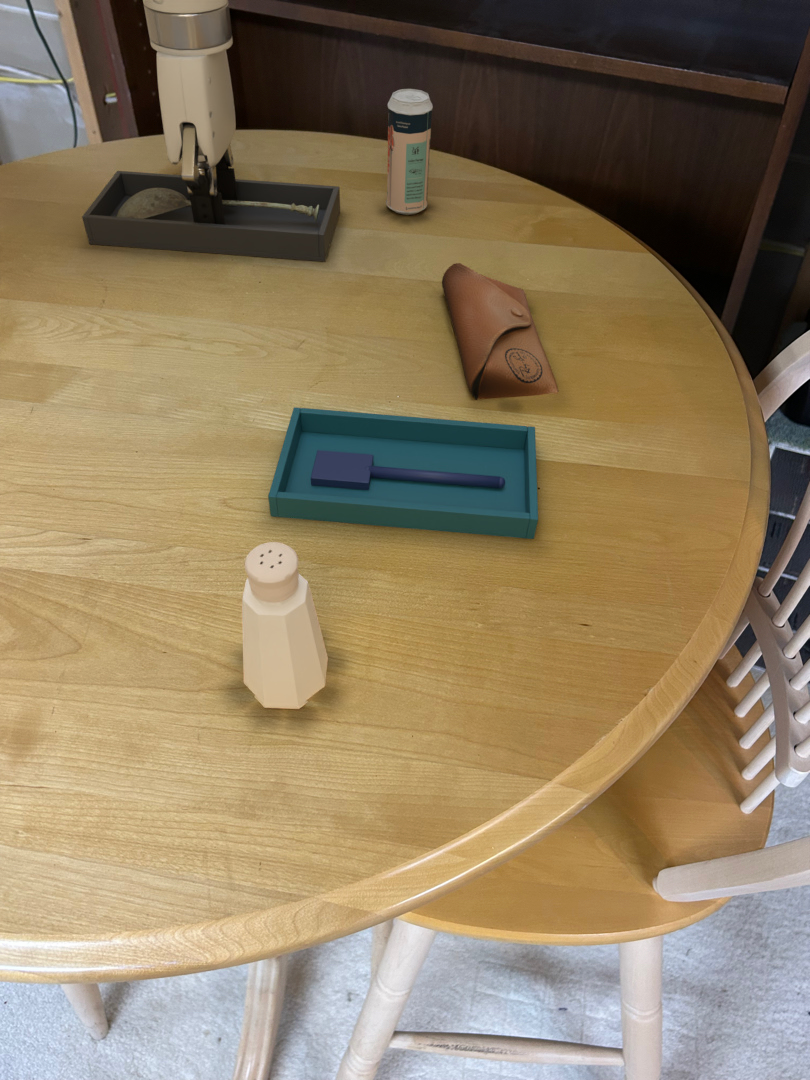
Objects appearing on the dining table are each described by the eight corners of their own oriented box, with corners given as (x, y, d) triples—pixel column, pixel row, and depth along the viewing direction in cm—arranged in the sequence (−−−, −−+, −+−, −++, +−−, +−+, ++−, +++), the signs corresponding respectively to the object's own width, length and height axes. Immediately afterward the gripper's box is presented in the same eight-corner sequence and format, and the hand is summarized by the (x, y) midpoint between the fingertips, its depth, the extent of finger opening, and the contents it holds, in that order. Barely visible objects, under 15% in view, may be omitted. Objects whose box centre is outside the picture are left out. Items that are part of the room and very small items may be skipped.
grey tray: (89, 244, 85) (81, 216, 83) (123, 196, 93) (117, 170, 90) (325, 261, 84) (323, 234, 82) (340, 212, 92) (339, 186, 89)
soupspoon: (126, 207, 90) (113, 238, 86) (117, 177, 88) (103, 208, 83) (322, 205, 90) (318, 236, 86) (319, 175, 87) (315, 206, 83)
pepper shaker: (226, 692, 49) (197, 578, 41) (271, 627, 52) (253, 509, 44) (304, 726, 48) (291, 614, 40) (345, 656, 51) (341, 540, 43)
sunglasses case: (567, 395, 69) (538, 340, 65) (493, 431, 71) (460, 380, 67) (522, 286, 81) (496, 232, 77) (460, 319, 83) (431, 269, 79)
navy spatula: (310, 485, 61) (310, 476, 60) (317, 457, 63) (317, 448, 62) (504, 501, 60) (505, 493, 60) (504, 473, 62) (506, 464, 62)
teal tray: (271, 520, 59) (267, 496, 57) (295, 431, 66) (293, 406, 64) (533, 543, 58) (538, 519, 56) (530, 450, 65) (535, 426, 63)
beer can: (401, 194, 95) (405, 83, 86) (435, 206, 93) (442, 94, 85) (377, 208, 93) (378, 96, 84) (411, 221, 91) (416, 107, 82)
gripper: (175, -3, 80) (203, 180, 93) (119, 53, 68) (160, 253, 82) (249, 1, 80) (267, 185, 93) (206, 59, 68) (233, 258, 82)
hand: (217, 215), depth 87 cm, fingers closed on soupspoon, 5 cm apart
